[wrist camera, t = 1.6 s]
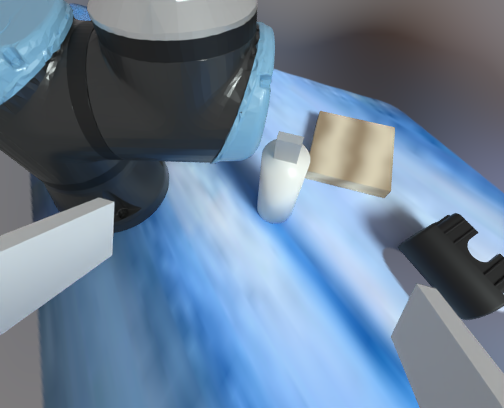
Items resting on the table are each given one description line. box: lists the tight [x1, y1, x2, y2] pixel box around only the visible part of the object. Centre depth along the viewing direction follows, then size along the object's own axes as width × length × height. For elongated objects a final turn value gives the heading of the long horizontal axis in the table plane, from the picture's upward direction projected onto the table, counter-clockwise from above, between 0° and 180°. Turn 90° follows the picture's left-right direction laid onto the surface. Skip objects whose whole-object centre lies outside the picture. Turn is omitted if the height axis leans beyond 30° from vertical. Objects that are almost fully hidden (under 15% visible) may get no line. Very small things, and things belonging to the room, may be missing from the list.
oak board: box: [305, 111, 395, 198], centre depth 42 cm, size 12×12×2 cm
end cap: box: [398, 213, 504, 320], centre depth 32 cm, size 10×7×7 cm
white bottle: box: [257, 131, 310, 224], centre depth 32 cm, size 5×5×15 cm
